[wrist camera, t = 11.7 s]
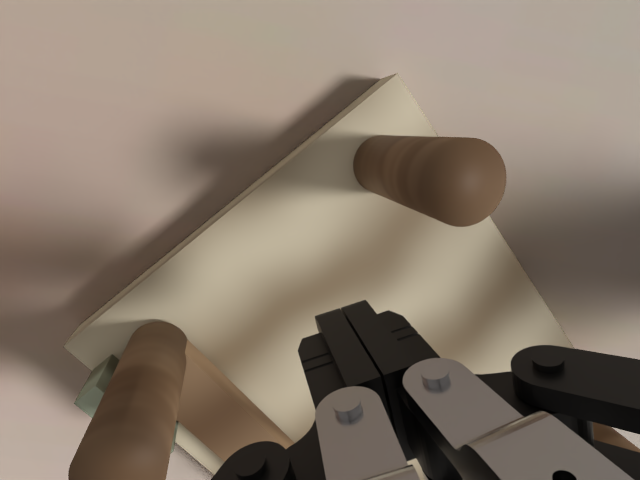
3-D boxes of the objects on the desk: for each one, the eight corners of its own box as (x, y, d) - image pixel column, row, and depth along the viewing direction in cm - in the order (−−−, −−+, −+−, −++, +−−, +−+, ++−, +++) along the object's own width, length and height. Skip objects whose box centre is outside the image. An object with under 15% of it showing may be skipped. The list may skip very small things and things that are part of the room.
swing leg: (319, 463, 21) (361, 616, 14) (280, 495, 21) (304, 663, 14) (160, 309, 18) (120, 416, 11) (114, 347, 18) (46, 476, 11)
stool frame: (79, 325, 20) (-37, 476, 11) (381, 78, 20) (499, 39, 11) (362, 574, 26) (425, 787, 18) (586, 390, 26) (757, 514, 18)
